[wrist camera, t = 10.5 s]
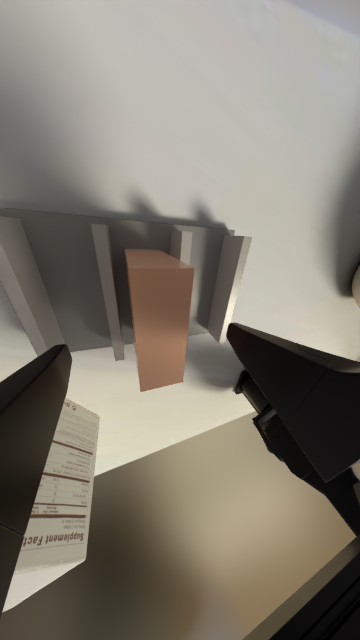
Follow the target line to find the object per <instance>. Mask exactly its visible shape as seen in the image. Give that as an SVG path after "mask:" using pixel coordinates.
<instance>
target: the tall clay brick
mask: <svg viewBox="0 0 360 640" xmlns="http://www.w3.org/2000/svg"><path fill="white" fill-rule="evenodd" d="M124 250H125V260H126V270H127V280H128V290H129V299H130V309H131V319H132V329H133V337H134V345H135V352H136V360H137V368H138V376H139V384H140V391H141V392H142V391H147V390H151V389H155V388H159V387H163V386H168V385H172V384H176V383H180V382H183V375H184V365H185V356H186V346H187V337H188V327H189V317H190V308H191V298H192V289H193V279H194V269H195V268H193V267H191V266H189V265H188V264H186V263H184V262H182V261H180V260H178V259H176V258H174V257H172V256H170V255H168V254H166V253H165V252H163V251H161V250H149V249H124Z"/></svg>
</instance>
